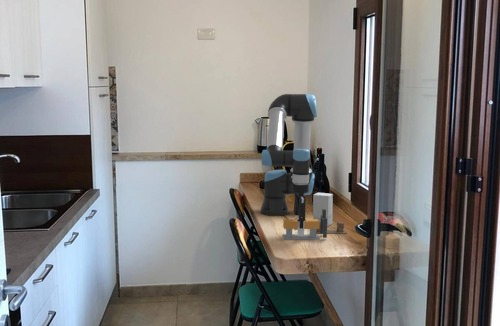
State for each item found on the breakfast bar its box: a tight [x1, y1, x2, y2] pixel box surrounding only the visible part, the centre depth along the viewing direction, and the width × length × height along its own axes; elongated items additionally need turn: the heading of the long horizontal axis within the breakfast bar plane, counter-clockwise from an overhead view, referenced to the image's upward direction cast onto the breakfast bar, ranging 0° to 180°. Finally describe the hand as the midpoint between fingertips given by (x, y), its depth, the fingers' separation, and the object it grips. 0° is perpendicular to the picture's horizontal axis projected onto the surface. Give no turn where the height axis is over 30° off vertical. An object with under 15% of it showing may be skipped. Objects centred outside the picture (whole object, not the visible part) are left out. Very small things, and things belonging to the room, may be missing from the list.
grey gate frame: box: [319, 209, 328, 239], centre depth 234 cm, size 7×2×12 cm, turn 5°
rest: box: [316, 221, 348, 235], centre depth 244 cm, size 6×16×4 cm, turn 94°
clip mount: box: [282, 229, 321, 241], centre depth 234 cm, size 6×16×4 cm, turn 94°
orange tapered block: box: [282, 218, 320, 230], centre depth 233 cm, size 4×16×4 cm, turn 95°
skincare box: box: [312, 192, 334, 227], centre depth 257 cm, size 8×7×16 cm
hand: (298, 232), depth 234 cm, fingers open, 9 cm apart
